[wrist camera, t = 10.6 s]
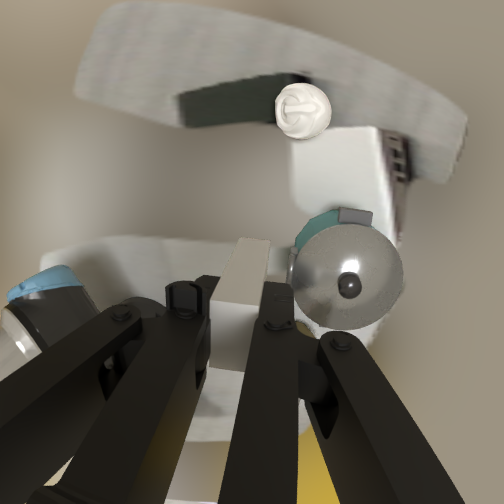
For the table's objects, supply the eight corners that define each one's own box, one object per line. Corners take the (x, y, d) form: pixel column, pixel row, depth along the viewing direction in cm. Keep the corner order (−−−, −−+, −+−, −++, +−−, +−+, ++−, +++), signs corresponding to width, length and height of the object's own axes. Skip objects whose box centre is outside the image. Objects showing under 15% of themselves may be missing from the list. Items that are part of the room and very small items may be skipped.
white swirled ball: (274, 89, 41) (271, 79, 34) (325, 88, 40) (332, 77, 33) (277, 141, 44) (276, 140, 37) (328, 139, 43) (337, 138, 36)
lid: (385, 331, 41) (389, 342, 39) (280, 319, 43) (278, 330, 41) (412, 232, 36) (419, 238, 33) (294, 215, 38) (292, 220, 36)
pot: (366, 305, 51) (378, 334, 43) (282, 297, 52) (281, 326, 44) (388, 206, 45) (408, 220, 37) (294, 193, 46) (296, 205, 38)
